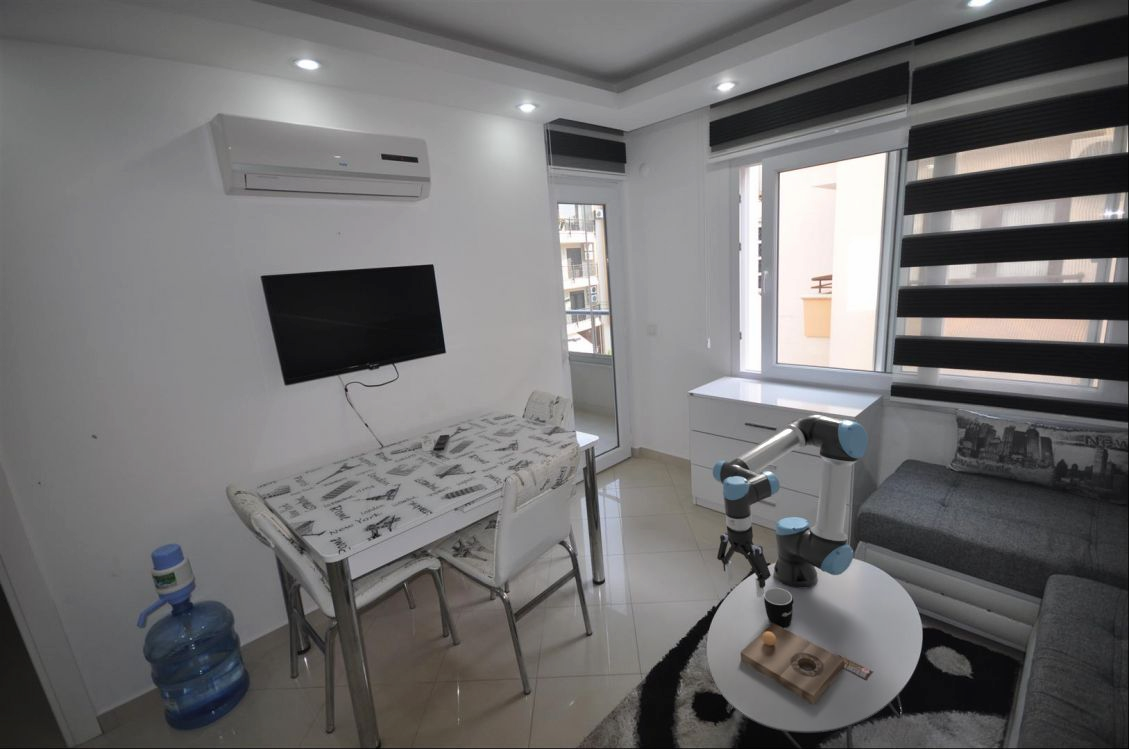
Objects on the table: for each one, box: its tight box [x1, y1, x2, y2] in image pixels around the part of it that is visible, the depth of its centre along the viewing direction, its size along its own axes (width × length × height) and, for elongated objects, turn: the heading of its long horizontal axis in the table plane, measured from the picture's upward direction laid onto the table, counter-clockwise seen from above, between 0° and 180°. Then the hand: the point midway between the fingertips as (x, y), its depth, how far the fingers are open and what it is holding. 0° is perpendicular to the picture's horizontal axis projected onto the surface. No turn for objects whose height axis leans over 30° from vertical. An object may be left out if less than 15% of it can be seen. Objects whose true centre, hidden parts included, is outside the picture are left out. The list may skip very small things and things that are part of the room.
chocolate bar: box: [837, 655, 874, 681], centre depth 148 cm, size 11×5×1 cm, turn 38°
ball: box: [762, 631, 776, 646], centre depth 157 cm, size 4×4×4 cm
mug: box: [763, 587, 795, 629], centre depth 169 cm, size 12×9×10 cm
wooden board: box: [740, 623, 844, 706], centre depth 152 cm, size 23×18×3 cm
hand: (744, 587), depth 160 cm, fingers open, 10 cm apart
